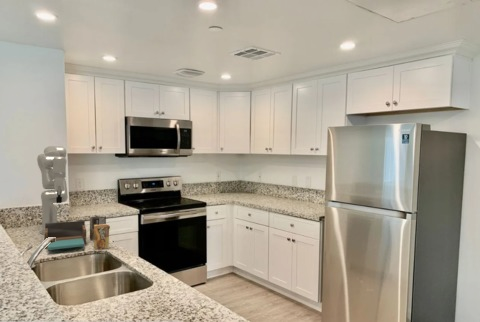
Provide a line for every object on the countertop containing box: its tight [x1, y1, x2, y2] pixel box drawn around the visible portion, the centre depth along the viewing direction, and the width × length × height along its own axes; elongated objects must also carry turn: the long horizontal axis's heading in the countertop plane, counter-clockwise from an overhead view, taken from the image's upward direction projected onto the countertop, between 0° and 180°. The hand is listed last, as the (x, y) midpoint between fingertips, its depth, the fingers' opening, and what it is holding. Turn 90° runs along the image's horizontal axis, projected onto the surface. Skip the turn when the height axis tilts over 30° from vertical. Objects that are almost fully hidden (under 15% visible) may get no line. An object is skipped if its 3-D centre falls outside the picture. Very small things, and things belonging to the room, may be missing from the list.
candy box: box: [93, 223, 110, 250], centre depth 216 cm, size 9×4×15 cm, turn 116°
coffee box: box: [89, 215, 107, 241], centre depth 235 cm, size 9×6×16 cm
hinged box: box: [43, 220, 87, 250], centre depth 225 cm, size 16×24×13 cm, turn 118°
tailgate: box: [46, 239, 85, 251], centre depth 212 cm, size 1×20×14 cm
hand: (59, 202), depth 225 cm, fingers closed
